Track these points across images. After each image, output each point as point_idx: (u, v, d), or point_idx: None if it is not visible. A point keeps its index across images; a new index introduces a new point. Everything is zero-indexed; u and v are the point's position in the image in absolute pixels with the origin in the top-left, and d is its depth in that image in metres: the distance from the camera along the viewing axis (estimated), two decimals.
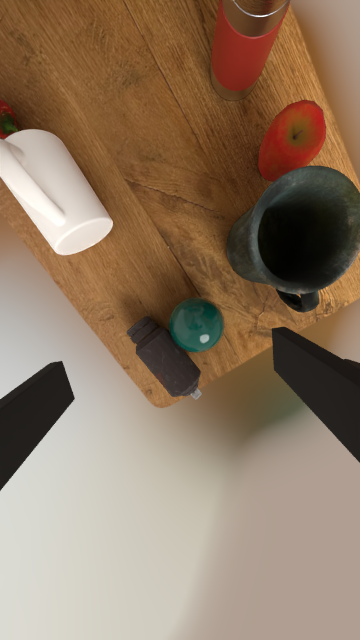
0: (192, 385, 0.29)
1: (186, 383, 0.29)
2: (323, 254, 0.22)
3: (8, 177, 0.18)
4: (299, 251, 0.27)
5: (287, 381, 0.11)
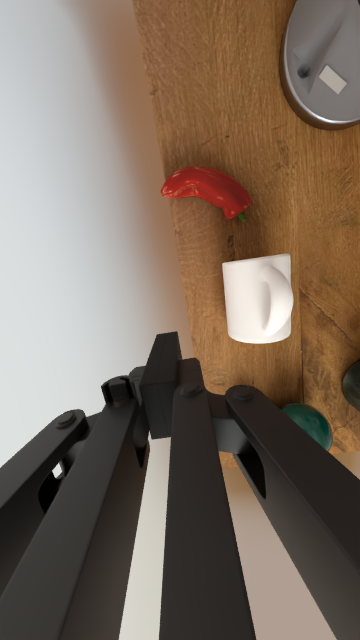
0: None
1: None
2: None
3: (278, 310, 0.20)
4: None
5: None
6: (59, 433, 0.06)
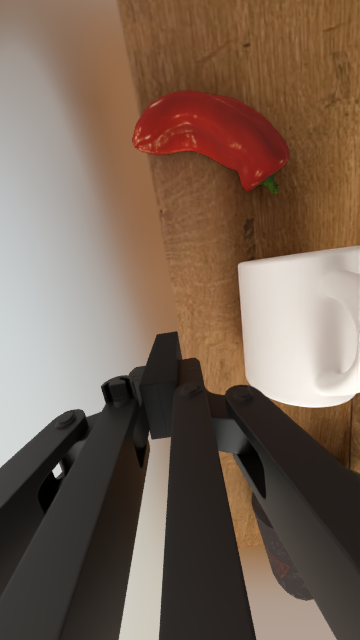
0: None
1: None
2: None
3: None
4: None
5: None
6: (59, 433, 0.06)
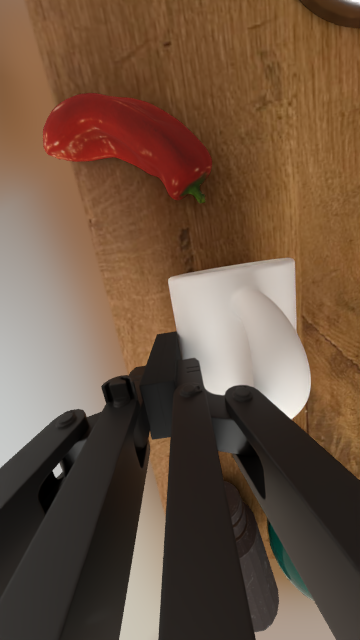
0: None
1: (266, 620, 0.20)
2: None
3: None
4: None
5: None
6: (59, 433, 0.06)
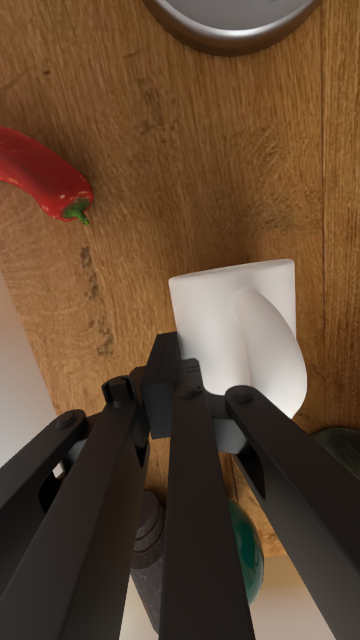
0: None
1: None
2: None
3: None
4: None
5: None
6: (59, 433, 0.06)
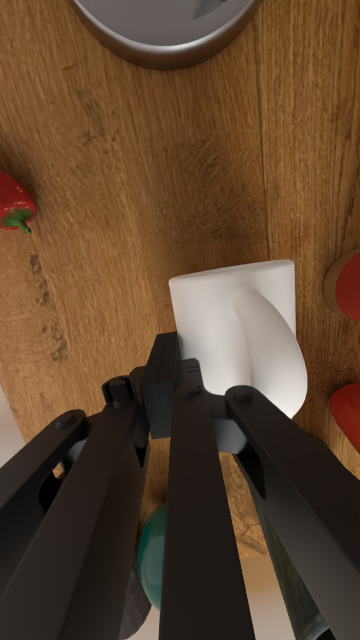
0: None
1: (129, 629, 0.21)
2: None
3: None
4: None
5: None
6: (59, 433, 0.06)
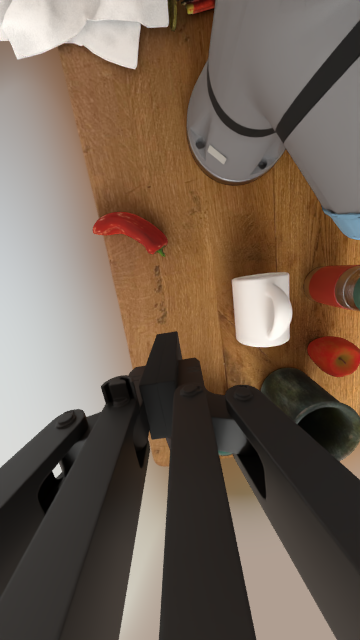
0: None
1: None
2: (326, 435, 0.33)
3: (281, 320, 0.25)
4: (309, 411, 0.38)
5: None
6: (59, 433, 0.06)
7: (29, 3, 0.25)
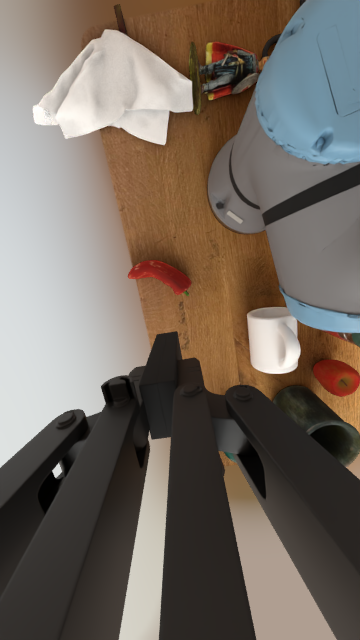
0: None
1: None
2: (330, 446, 0.39)
3: (291, 356, 0.31)
4: None
5: None
6: (59, 433, 0.06)
7: (79, 99, 0.31)
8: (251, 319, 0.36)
